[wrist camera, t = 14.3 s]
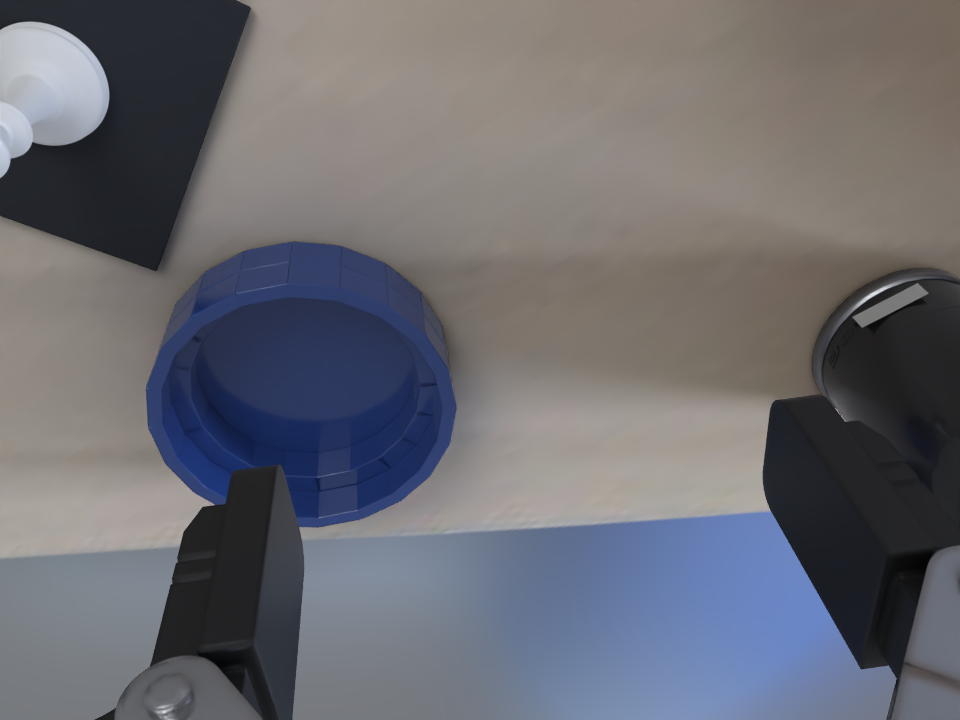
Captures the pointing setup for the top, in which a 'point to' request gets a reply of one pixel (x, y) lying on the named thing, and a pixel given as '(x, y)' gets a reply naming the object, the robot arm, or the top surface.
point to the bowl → (304, 381)
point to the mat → (127, 121)
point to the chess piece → (47, 89)
